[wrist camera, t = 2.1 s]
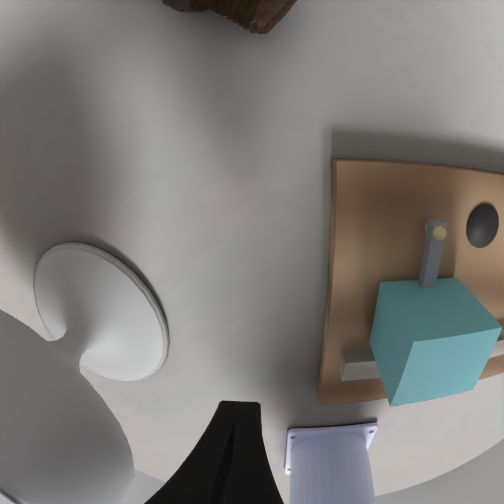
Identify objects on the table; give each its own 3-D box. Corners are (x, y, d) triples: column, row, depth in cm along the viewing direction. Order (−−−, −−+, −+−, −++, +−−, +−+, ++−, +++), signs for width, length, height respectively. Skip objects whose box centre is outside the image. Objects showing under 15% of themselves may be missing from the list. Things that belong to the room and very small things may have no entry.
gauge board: (537, 349, 18) (549, 364, 15) (316, 389, 20) (319, 417, 18) (583, 191, 12) (603, 200, 9) (331, 158, 14) (342, 163, 12)
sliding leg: (440, 334, 16) (472, 389, 11) (368, 341, 16) (390, 406, 11) (467, 218, 13) (525, 254, 8) (387, 215, 13) (433, 257, 9)
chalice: (222, 307, 18) (145, 566, 4) (145, 406, 23) (88, 546, 9) (48, 187, 16) (-143, 291, 2) (23, 320, 21) (-71, 424, 7)
